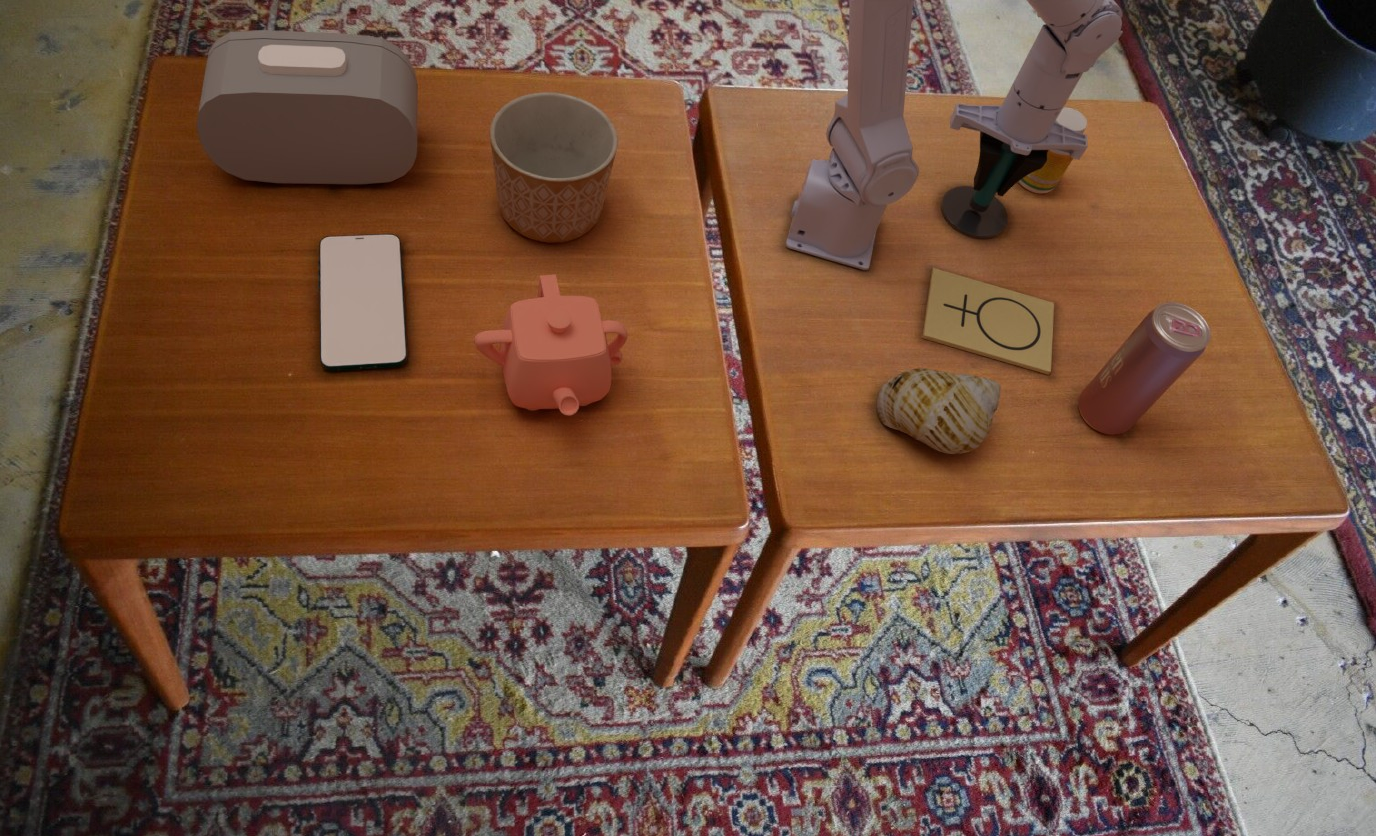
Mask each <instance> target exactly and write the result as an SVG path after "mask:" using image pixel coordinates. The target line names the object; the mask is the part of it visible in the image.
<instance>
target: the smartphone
mask: <svg viewBox="0 0 1376 836" xmlns="http://www.w3.org/2000/svg"><path fill="white" fill-rule="evenodd" d="M318 254H319V255H318V291H319V362H320V366H321V367H322V369H324V370H325V371H327V372H343V371H344V372H345V371H346V372H347V371H364V370H365V371H366V370H377V369H378V370H379V369H394V368H395V369H397V368H401V367H403V366H405V364H406V363H408V343H407V342H408V340H407V326H406V325H407V322H406V308H405V292H404V291H405V290H404V289H405V288H404V284H405V282H404V281H405V279H404V269H403V258H402V257H403V256H402V244H401V238H400V237H399V236H398V235H396V234H394V233H374V234H344V235H343V234H342V235H326V236H324V237H322V238H321V239H320V241H319V245H318Z"/></svg>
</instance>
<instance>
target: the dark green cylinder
mask: <svg viewBox="0 0 1376 836" xmlns="http://www.w3.org/2000/svg"><path fill="white" fill-rule="evenodd" d="M1017 155H1018V153H1014V152H1012V151H1011V148H1010V145H1008V144H1006V143H1004V142H1003V145H1002V147H1001V158H1000V159H999V160H998V161H997V163H996V164H995V165H994V167H993V168H992V170H991V171H990V173H989V174H988V177H987V179H986V181H985V183H984V185H983V187H982V188H981V190H980V191H978V190H976V191H975V193H974V195H973V197H972V198H971V200H970V206H971V208H972V209H974V210H975V211H978V212H985V211H986V210H987V209H988V207H989V205H990V204H991V202H992V200H993V198H994V196H995V197H996V196H997V191H998V189H999V188H1000V186H1001V184H1002V182H1003V180H1004V179H1005V177H1006V175H1007V173H1008V171H1009V170H1010V168H1011V166H1012V164H1013V162H1014V161H1015V159H1016V157H1017Z"/></svg>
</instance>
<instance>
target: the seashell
mask: <svg viewBox="0 0 1376 836" xmlns="http://www.w3.org/2000/svg"><path fill="white" fill-rule="evenodd" d="M1001 389H1002V387H1001V384H1000V383H999V382H997V380H993V379H991V378H987V377H981V376H978V375H972V374H966V373H964V374H963V373H962V374H958V373H954V372H947V371H941V370H935V369H931V368H923V367H922V368H921V367H920V368H913V369H909V370H906V371H903V372H901V373H898V374H897V375H895V376H893V377H892V378H890V379H888V380H887V381H886V382H885V383H884V384H883V385H882V387H881V389H880V391H879V393H878V397H877V401H876V412H877V413H876V414H877V416H878V418H879V420H880V422H881V423H882V424H883V425H884V426H886V427H888V428H890V429H893V430H897V431H900V432H902V433H904V434H907V435H908V436H909V437H912V438H913V439H914V440H916V441H919V442H921V443H923V444H925V445H926V446H928V447H930V448H932V449H933V450H936V451H938V452H940V453H944V454H947V455H948V454H949V455H962V454H965V453H971V452H972V451H974V450H976V449H978V448H979V447H980V446H981V445H982V444H983V442H984V441H985V439H986V437H987V435H988V434H989V432H990V429H991V426H992V423H993V420H994V415H995V413H996V411H997V409H998V407H999V403H1000V397H1001Z"/></svg>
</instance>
